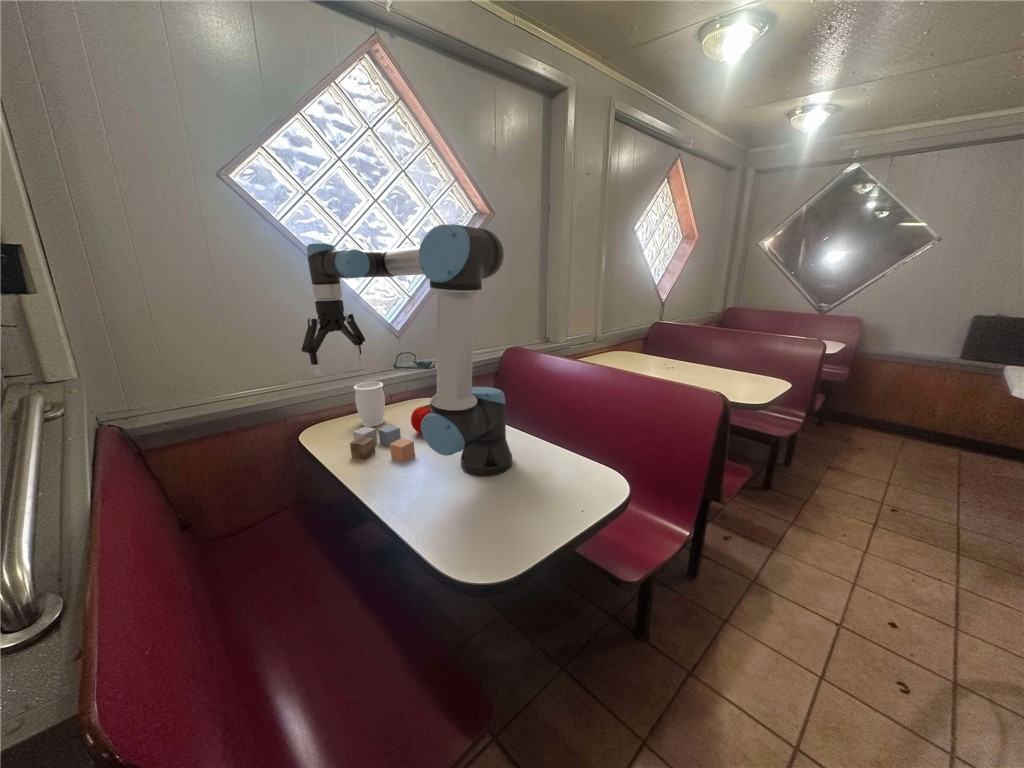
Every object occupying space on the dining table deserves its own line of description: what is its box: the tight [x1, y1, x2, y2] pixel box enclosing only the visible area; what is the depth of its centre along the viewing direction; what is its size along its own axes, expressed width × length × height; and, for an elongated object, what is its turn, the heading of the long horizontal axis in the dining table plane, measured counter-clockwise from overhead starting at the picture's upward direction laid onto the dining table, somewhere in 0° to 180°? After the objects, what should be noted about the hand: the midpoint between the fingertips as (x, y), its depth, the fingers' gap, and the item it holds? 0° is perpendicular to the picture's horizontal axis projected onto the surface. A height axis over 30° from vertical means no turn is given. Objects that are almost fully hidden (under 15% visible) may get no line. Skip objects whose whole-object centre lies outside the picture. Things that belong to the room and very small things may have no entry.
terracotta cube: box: [389, 437, 416, 463], centre depth 121 cm, size 5×5×5 cm
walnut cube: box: [349, 437, 376, 461], centre depth 123 cm, size 5×5×5 cm
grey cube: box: [352, 426, 378, 445], centre depth 131 cm, size 5×5×5 cm
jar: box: [353, 381, 386, 428], centre depth 148 cm, size 11×10×15 cm
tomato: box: [410, 402, 431, 434], centre depth 139 cm, size 11×13×10 cm
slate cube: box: [377, 424, 402, 448], centre depth 132 cm, size 5×5×5 cm
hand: (339, 370), depth 122 cm, fingers open, 13 cm apart
